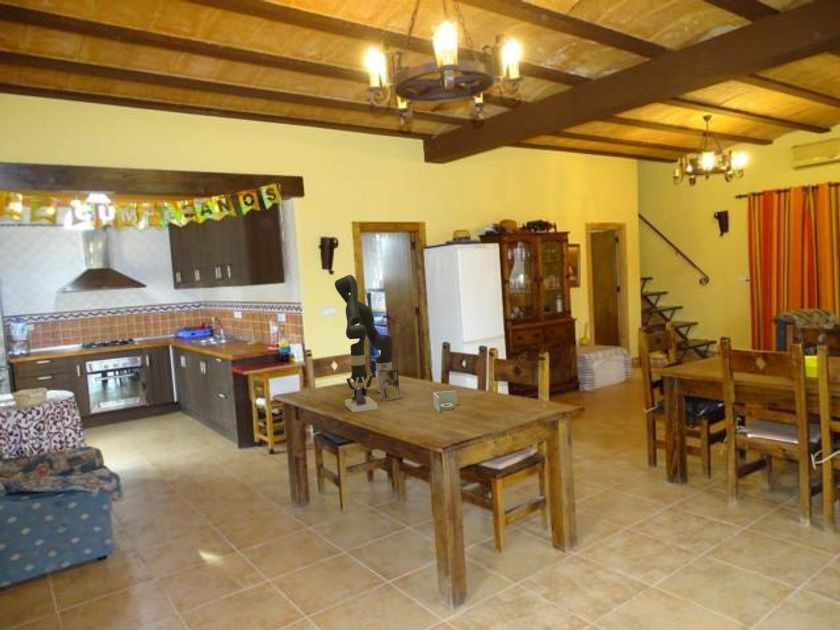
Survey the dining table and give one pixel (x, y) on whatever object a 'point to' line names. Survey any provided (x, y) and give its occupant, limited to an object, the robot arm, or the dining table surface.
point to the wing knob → (360, 395)
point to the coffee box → (389, 384)
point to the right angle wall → (444, 400)
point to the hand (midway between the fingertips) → (360, 396)
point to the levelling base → (360, 404)
